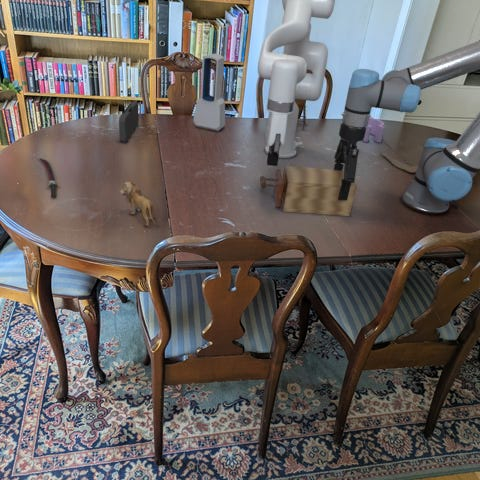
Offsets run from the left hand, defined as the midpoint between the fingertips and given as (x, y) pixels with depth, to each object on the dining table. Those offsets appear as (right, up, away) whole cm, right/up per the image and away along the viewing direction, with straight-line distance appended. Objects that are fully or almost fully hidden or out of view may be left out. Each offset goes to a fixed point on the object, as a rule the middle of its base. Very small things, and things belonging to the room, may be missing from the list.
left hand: (272, 164), depth 144 cm
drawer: (+9, -11, +7) cm, 15 cm away
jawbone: (+57, +8, +46) cm, 73 cm away
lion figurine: (-39, -17, -8) cm, 43 cm away
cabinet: (+14, -12, +8) cm, 20 cm away
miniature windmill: (+16, +29, +73) cm, 80 cm away
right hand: (+22, -7, +6) cm, 24 cm away
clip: (+48, +25, +72) cm, 90 cm away
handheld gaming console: (-55, +20, +46) cm, 74 cm away
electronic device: (-23, +26, +61) cm, 70 cm away
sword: (-72, -3, +7) cm, 73 cm away
